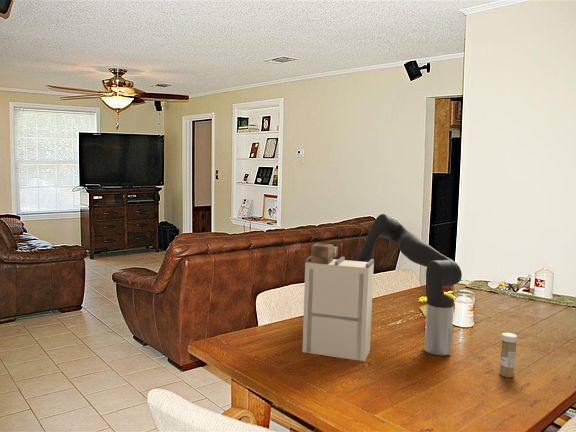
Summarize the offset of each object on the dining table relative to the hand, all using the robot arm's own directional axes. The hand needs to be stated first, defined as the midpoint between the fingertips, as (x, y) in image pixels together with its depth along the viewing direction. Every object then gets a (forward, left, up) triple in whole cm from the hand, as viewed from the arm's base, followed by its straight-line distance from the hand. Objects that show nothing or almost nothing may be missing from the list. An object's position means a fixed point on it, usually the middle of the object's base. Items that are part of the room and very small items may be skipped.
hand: (334, 259), depth 198 cm
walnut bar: (0, +13, +2) cm, 13 cm away
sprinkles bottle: (-62, +18, -30) cm, 71 cm away
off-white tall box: (-6, +18, -30) cm, 35 cm away
